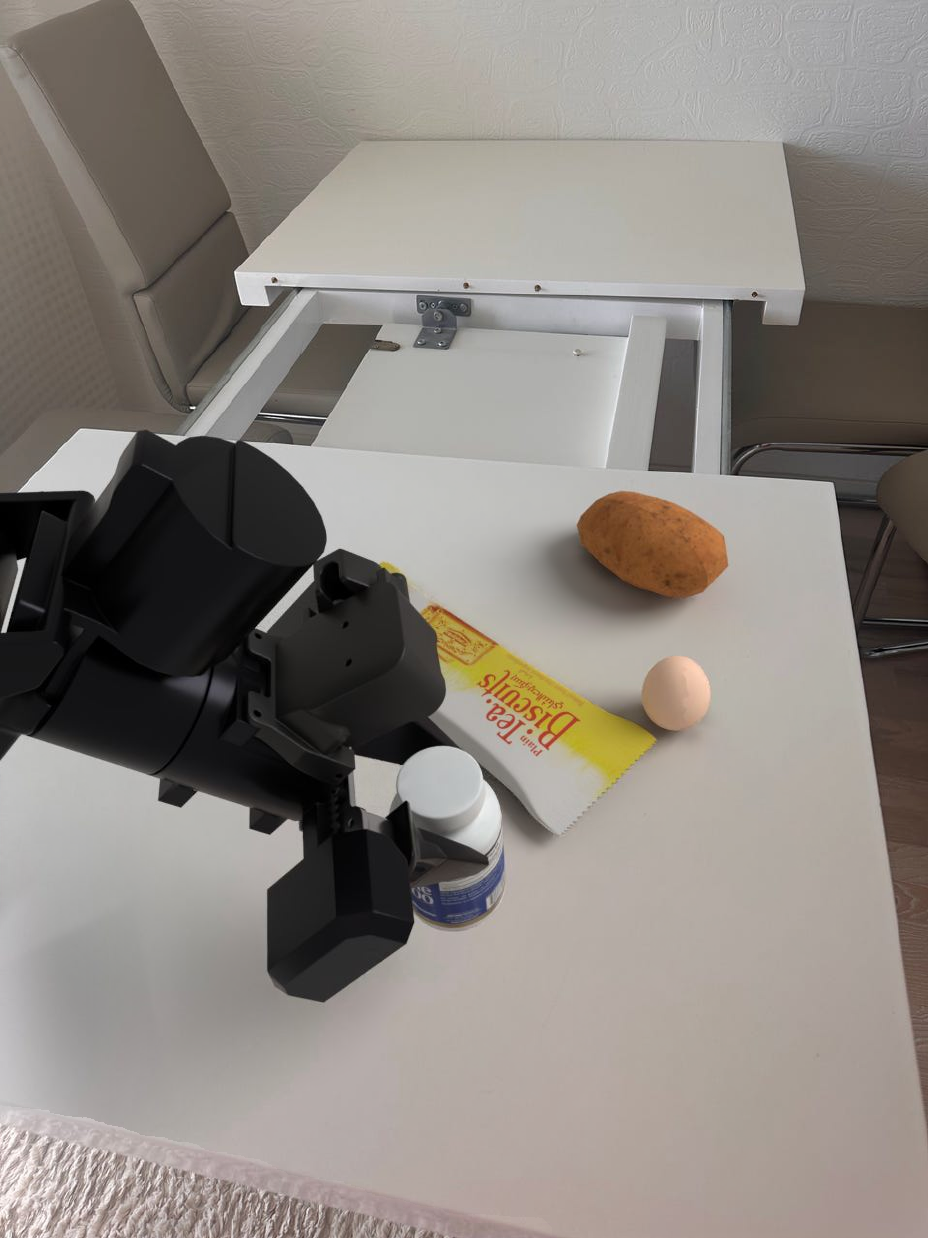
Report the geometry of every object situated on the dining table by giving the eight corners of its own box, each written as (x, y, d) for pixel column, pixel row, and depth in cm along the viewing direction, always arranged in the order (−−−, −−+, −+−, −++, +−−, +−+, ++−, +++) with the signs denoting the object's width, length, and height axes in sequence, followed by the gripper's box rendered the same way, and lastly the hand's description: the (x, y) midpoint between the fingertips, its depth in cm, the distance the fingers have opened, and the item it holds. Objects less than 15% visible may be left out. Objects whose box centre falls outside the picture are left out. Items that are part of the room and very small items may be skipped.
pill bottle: (390, 865, 51) (363, 758, 44) (481, 827, 52) (469, 717, 45) (427, 952, 48) (404, 850, 41) (523, 910, 49) (518, 804, 42)
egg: (701, 693, 66) (710, 637, 62) (710, 745, 63) (719, 690, 59) (636, 694, 66) (641, 639, 62) (642, 746, 63) (647, 691, 59)
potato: (680, 637, 70) (672, 569, 65) (566, 561, 78) (551, 496, 73) (747, 583, 72) (745, 513, 67) (629, 515, 80) (619, 448, 75)
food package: (661, 728, 61) (559, 829, 57) (658, 749, 63) (560, 848, 59) (382, 548, 76) (283, 617, 71) (386, 569, 78) (290, 637, 73)
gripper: (299, 797, 27) (655, 917, 35) (288, 425, 40) (549, 578, 48) (110, 968, 32) (459, 1037, 40) (155, 590, 45) (412, 702, 53)
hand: (473, 814), depth 45 cm, fingers closed on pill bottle, 5 cm apart
